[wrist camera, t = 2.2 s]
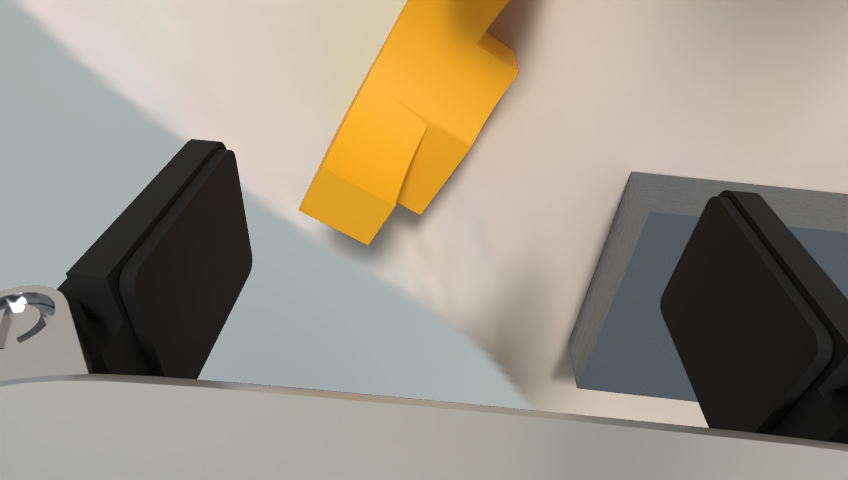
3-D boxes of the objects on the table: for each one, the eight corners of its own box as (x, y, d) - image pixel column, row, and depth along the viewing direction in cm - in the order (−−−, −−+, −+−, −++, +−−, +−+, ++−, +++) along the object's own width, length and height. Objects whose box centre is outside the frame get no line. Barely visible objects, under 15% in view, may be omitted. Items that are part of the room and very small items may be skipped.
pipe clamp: (426, 174, 23) (412, 268, 18) (339, 124, 22) (298, 210, 17) (621, -99, 17) (684, -72, 11) (510, -190, 15) (526, -204, 10)
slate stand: (1014, 211, 22) (1079, 257, 19) (859, 375, 28) (894, 424, 26) (631, 171, 22) (650, 211, 20) (568, 343, 29) (576, 388, 26)
